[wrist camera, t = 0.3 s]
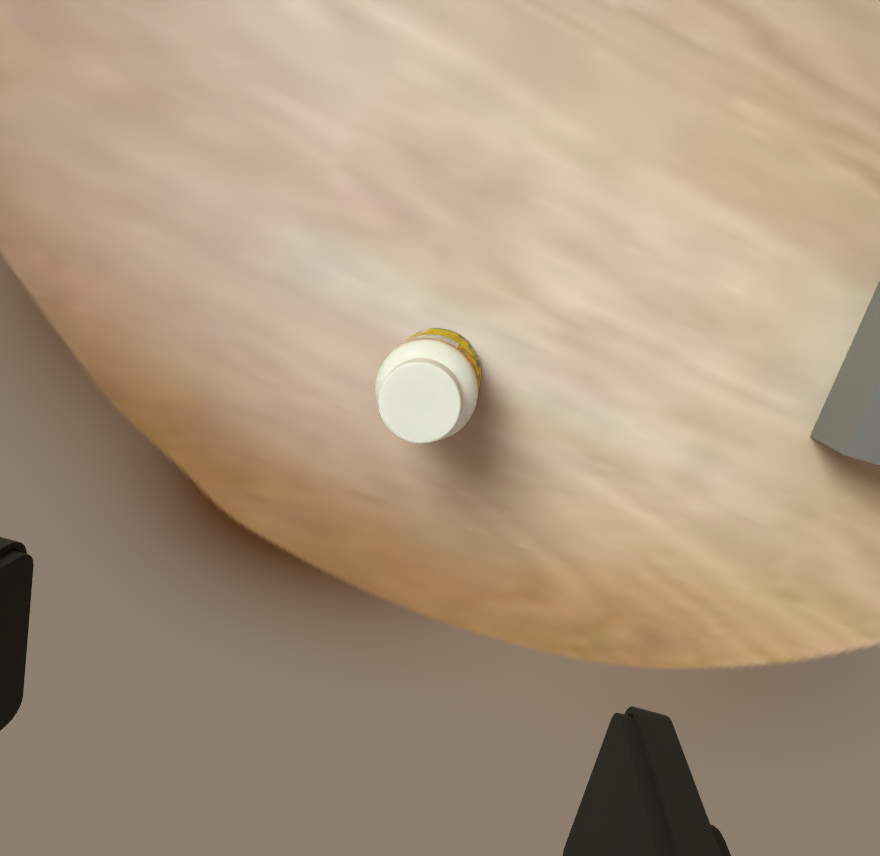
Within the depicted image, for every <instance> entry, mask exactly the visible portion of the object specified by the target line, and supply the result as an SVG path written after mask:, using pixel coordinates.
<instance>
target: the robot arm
mask: <svg viewBox="0 0 880 856" xmlns="http://www.w3.org/2000/svg"><path fill="white" fill-rule="evenodd" d="M32 575H33V559H32V557H31V556H30V555H28V554H27V552H26V548H25V546H24V545H23V544H22V543H20V542H17V541H13V540H9V539H6V538H2V537H0V730H2V729H3V728H4V727H5V726H6V725H7V724H8V723H9V722H10V721H11V720H12V719H13V717H14V716H15V714H16V713H17V711H18V709H19V707H20V704H21V702H22V697H23V688H24V675H25V663H26V650H27V638H28V626H29V625H28V624H29V613H30V601H31V587H32ZM563 856H731V855H730V852H729V850H728V847H727V845H726V842H725V840H724V838H723V837H722V834H721V833H720V831H719V830H718V829H717V828H716V827H715V826H713V825H710V823H709V820H708V817H707V815H706V812H705V809H704V807H703V804H702V801H701V799H700V796H699V793H698V791H697V788H696V785H695V783H694V780H693V777H692V774H691V772H690V769H689V766H688V764H687V761H686V759H685V756H684V753H683V750H682V748H681V745H680V742H679V740H678V737H677V734H676V732H675V729H674V726H673V724H672V721H671V720H670V718H669V717H668V716H666V715H662V714H658V713H655V712H651V711H647V710H644V709H640V708H636V707H629V708H628V709H627V711H626V712H625V714H620V713H615V714H614V716H613V717H612V719H611V722H610V724H609V727H608V730H607V733H606V735H605V738H604V741H603V744H602V747H601V749H600V752H599V754H598V757H597V760H596V763H595V765H594V768H593V771H592V774H591V776H590V779H589V782H588V785H587V787H586V790H585V793H584V796H583V798H582V801H581V804H580V806H579V809H578V812H577V815H576V817H575V820H574V823H573V825H572V828H571V831H570V834H569V837H568V839H567V842H566V845H565V848H564V852H563Z"/></svg>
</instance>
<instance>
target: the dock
mask: <svg viewBox="0 0 880 856" xmlns="http://www.w3.org/2000/svg"><path fill="white" fill-rule="evenodd" d="M810 437H812V438H813V439H815V440H817V441H819V442H821V443H823V444H824V445H826V446H828V447H830V448H832V449H834V450H835V451H837V452H839V453H841V454H843V455H845V456H848V457H851V458H855V459H858V460H862V461H865V462H869V463H872V464H876V465H879V466H880V282H879V284H878V286H877V289H876V291H875V293H874V295H873V297H872V300H871V302H870V304H869V306H868V309H867V311H866V313H865V315H864V318H863V320H862V322H861V324H860V327H859V329H858V331H857V333H856V335H855V338H854V340H853V342H852V344H851V347H850V349H849V351H848V353H847V356H846V358H845V360H844V362H843V364H842V367H841V369H840V371H839V373H838V376H837V378H836V380H835V382H834V385H833V387H832V389H831V391H830V394H829V396H828V398H827V400H826V402H825V405H824V407H823V409H822V411H821V414H820V416H819V418H818V420H817V423H816V425H815V427H814V429H813V432H812V434H811V436H810Z"/></svg>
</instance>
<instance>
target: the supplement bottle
mask: <svg viewBox="0 0 880 856" xmlns="http://www.w3.org/2000/svg"><path fill="white" fill-rule="evenodd" d="M480 382H481V365H480V361H479V358H478V355H477V353H476V351H475V350H474V348H473V346H472V345H471V344H470V342H469V341H468V340H467V339H466V338H465V337H463V336H462V335H461V334H459V333H457V332H455V331H452V330H449V329H445V328H429V329H425V330H422V331H419V332H417V333H415V334H414V335H412V336H411V337H409V338H408V339H407V340H406V341H404V342H403V343H402V344H401V345H400V346H398V347H397V348H396V349H395V350H394V351H393V352H392V353H391V354H389V356H388V357H387V358H386V359H385V361H384V362H383V364H382V365H381V367H380V369H379V372H378V375H377V379H376V385H375V394H376V401H377V404H378V407H379V411H380V415H381V417H382V420H383V421H384V423H385V425H386V426H387V427H388V429H389V430H390V431H391V432H392V433H393V434H395V435H396V436H397V437H399V438H401V439H403V440H405V441H408V442H412V443H422V444H424V443H430V442H434V441H438V440H442V439H445V438H447V437H450V436H452V435H453V434H455V433H456V432H458V431H459V430H460V429H461V428H463V426H464V425H465V424H466V423H467V422H468V420H469V419H470V417H471V416H472V414H473V412H474V409H475V407H476V404H477V399H478V392H479V387H480Z"/></svg>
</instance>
